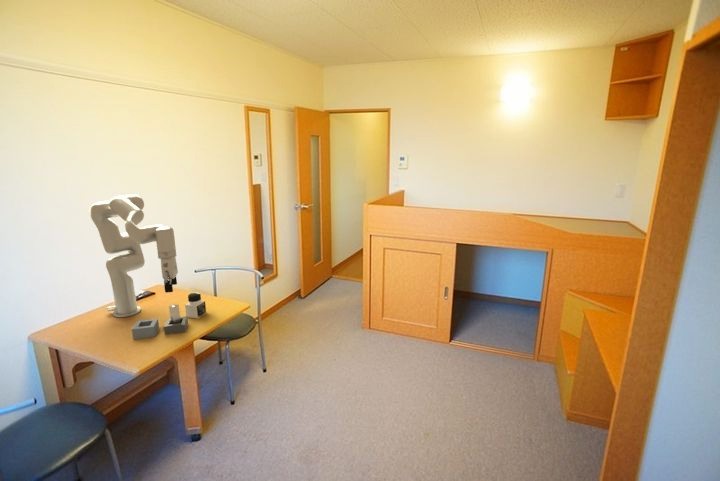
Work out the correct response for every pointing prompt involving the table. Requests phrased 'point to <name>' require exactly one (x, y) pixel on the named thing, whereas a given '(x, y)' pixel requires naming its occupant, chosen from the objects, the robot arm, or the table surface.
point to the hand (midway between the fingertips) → (171, 288)
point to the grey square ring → (176, 326)
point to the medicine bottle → (195, 306)
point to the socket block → (145, 328)
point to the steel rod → (174, 314)
